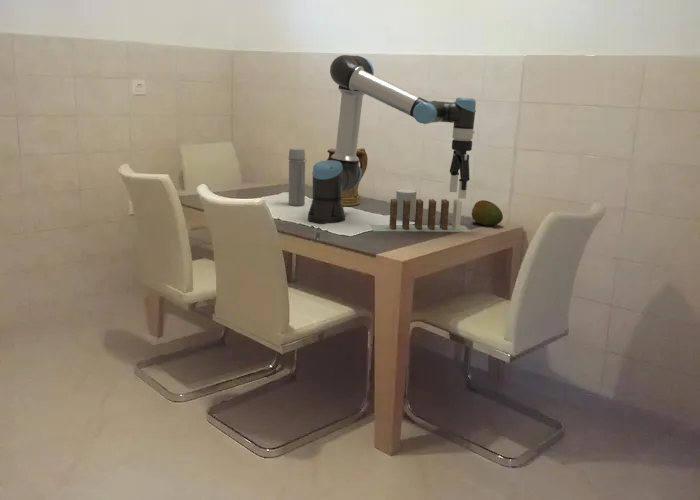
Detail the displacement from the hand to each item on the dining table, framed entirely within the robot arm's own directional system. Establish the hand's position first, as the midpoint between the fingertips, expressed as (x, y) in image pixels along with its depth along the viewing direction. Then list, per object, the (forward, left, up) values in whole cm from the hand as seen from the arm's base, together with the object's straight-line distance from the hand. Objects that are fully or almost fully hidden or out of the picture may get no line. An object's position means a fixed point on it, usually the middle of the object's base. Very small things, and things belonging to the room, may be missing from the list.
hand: (457, 195), depth 262 cm
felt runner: (-13, -5, -14) cm, 19 cm away
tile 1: (-23, -9, -13) cm, 28 cm away
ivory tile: (0, 0, -13) cm, 13 cm away
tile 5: (-4, -2, -13) cm, 14 cm away
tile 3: (-14, -5, -13) cm, 20 cm away
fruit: (+11, +13, -14) cm, 22 cm away
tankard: (-55, +38, -14) cm, 68 cm away
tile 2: (-18, -7, -13) cm, 24 cm away
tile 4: (-9, -4, -13) cm, 16 cm away
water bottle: (-73, +24, -14) cm, 78 cm away
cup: (-22, +11, -14) cm, 28 cm away
